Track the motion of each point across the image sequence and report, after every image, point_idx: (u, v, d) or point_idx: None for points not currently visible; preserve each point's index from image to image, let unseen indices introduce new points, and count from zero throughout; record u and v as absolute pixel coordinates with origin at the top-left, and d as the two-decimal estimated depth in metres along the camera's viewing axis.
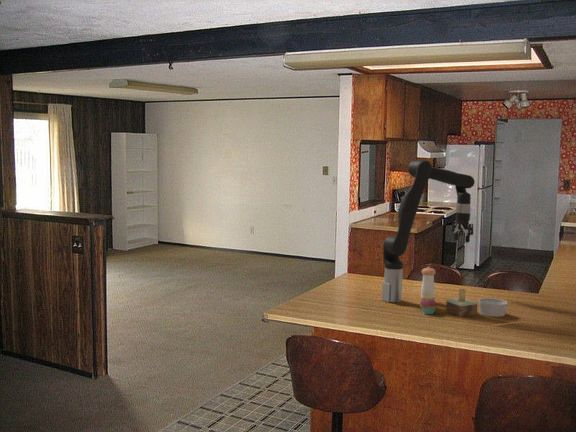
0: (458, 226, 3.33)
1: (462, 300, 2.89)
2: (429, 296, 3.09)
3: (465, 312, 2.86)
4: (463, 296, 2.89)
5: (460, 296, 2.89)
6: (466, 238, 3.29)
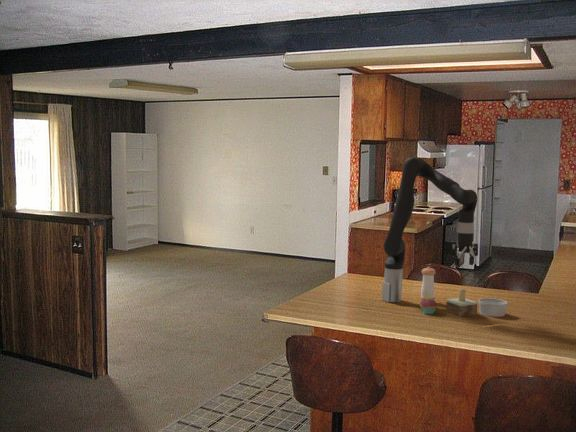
0: (465, 249, 2.88)
1: (462, 300, 2.89)
2: (429, 296, 3.09)
3: (465, 312, 2.86)
4: (463, 296, 2.89)
5: (460, 296, 2.89)
6: (473, 260, 2.92)
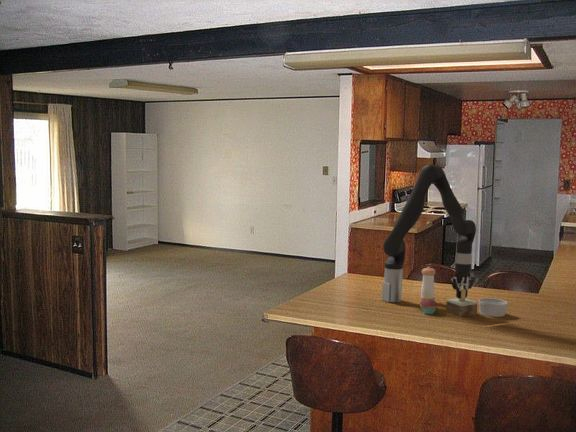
0: (463, 279, 2.88)
1: (462, 300, 2.89)
2: (429, 296, 3.09)
3: (465, 312, 2.86)
4: (463, 296, 2.89)
5: None
6: (466, 293, 2.90)
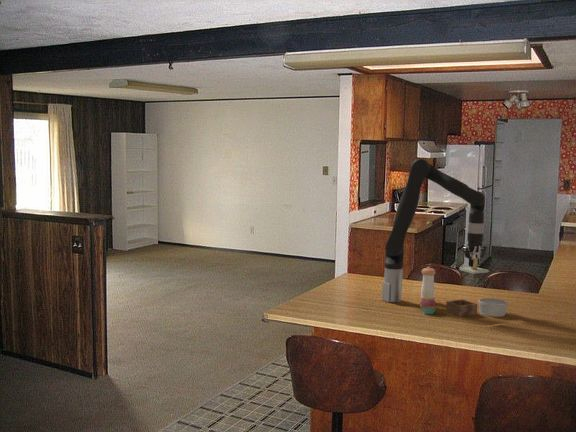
0: (476, 248, 3.00)
1: (474, 268, 3.01)
2: (429, 296, 3.09)
3: (465, 312, 2.86)
4: (475, 264, 3.01)
5: None
6: (478, 262, 3.02)
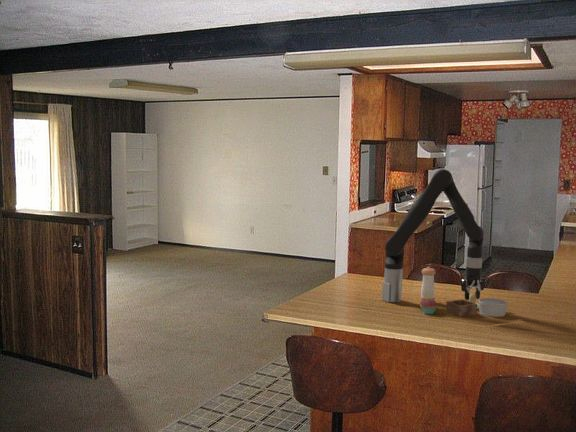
0: (474, 282, 3.01)
1: None
2: (429, 296, 3.09)
3: (465, 312, 2.86)
4: (473, 301, 3.03)
5: (471, 301, 3.03)
6: (479, 294, 3.05)
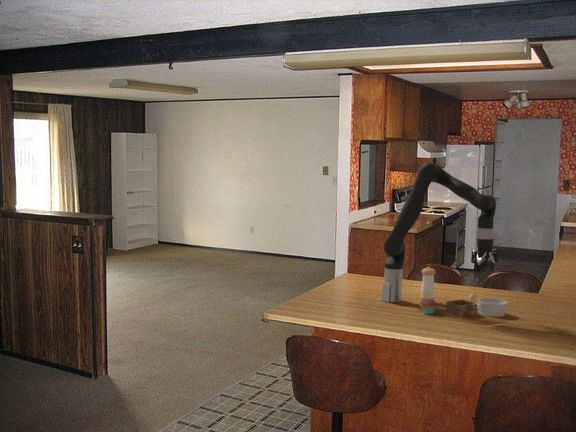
0: None
1: None
2: (429, 296, 3.09)
3: (465, 312, 2.86)
4: (473, 301, 3.03)
5: (471, 301, 3.03)
6: (493, 266, 2.90)
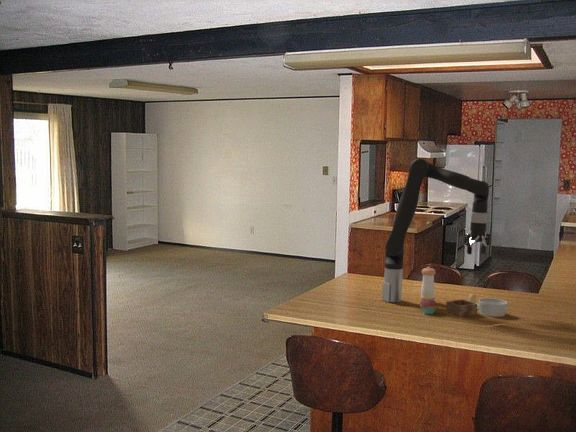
0: (478, 238, 2.99)
1: None
2: (429, 296, 3.09)
3: (465, 312, 2.86)
4: (473, 301, 3.03)
5: (471, 301, 3.03)
6: (484, 249, 3.03)
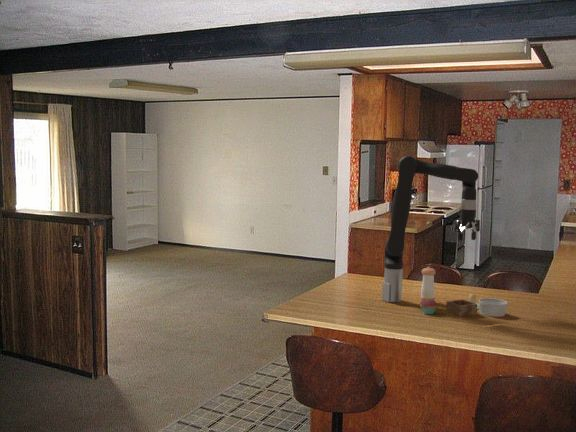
0: (468, 224, 3.06)
1: None
2: (429, 296, 3.09)
3: (465, 312, 2.86)
4: (473, 301, 3.03)
5: (471, 301, 3.03)
6: (475, 235, 3.10)
